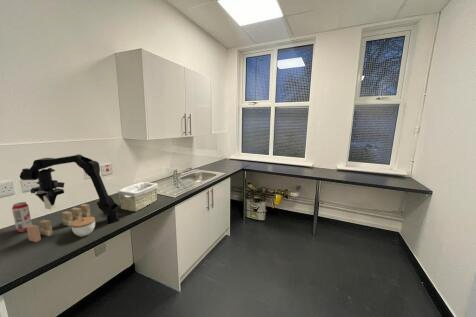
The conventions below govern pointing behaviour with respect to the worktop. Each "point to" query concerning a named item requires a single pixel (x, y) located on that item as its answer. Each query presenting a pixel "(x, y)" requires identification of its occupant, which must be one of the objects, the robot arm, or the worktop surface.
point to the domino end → (33, 233)
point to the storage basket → (138, 196)
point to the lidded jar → (83, 226)
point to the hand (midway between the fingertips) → (49, 204)
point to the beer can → (21, 216)
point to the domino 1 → (48, 203)
